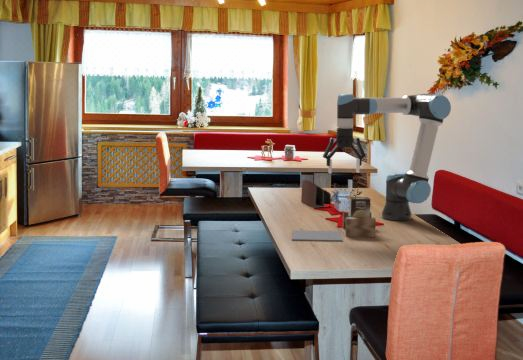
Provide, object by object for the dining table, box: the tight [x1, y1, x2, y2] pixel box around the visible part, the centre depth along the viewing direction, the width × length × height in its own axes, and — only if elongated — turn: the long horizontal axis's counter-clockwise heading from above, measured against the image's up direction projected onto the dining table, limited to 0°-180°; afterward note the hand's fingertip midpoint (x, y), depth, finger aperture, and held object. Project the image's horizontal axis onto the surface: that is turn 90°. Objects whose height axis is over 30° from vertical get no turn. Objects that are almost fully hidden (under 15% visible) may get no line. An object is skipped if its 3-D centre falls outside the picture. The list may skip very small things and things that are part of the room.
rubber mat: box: [291, 229, 343, 242], centre depth 301 cm, size 22×18×1 cm
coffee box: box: [348, 196, 371, 218], centre depth 310 cm, size 9×6×16 cm
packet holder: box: [342, 210, 377, 238], centre depth 311 cm, size 13×20×8 cm, turn 178°
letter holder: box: [300, 179, 332, 209], centre depth 378 cm, size 10×20×14 cm, turn 19°
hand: (343, 172), depth 313 cm, fingers open, 13 cm apart
